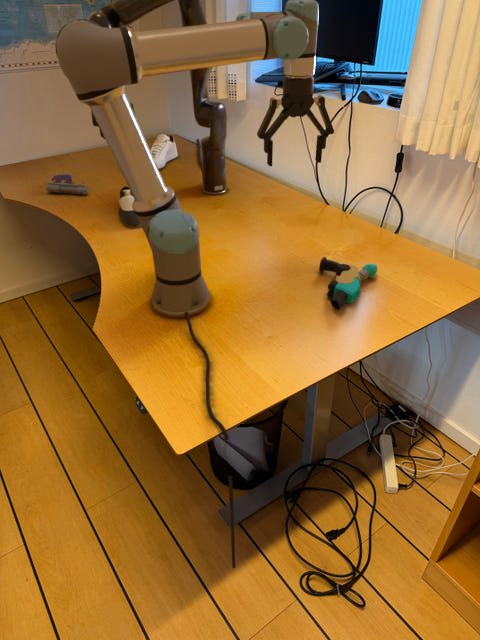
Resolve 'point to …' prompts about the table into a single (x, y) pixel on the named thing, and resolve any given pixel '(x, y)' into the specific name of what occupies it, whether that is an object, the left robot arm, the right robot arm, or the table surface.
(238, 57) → the left robot arm
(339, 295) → the toy gun
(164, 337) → the table surface
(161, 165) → the sneaker
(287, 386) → the table surface
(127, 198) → the ballet flat
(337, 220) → the table surface
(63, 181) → the toy gun
